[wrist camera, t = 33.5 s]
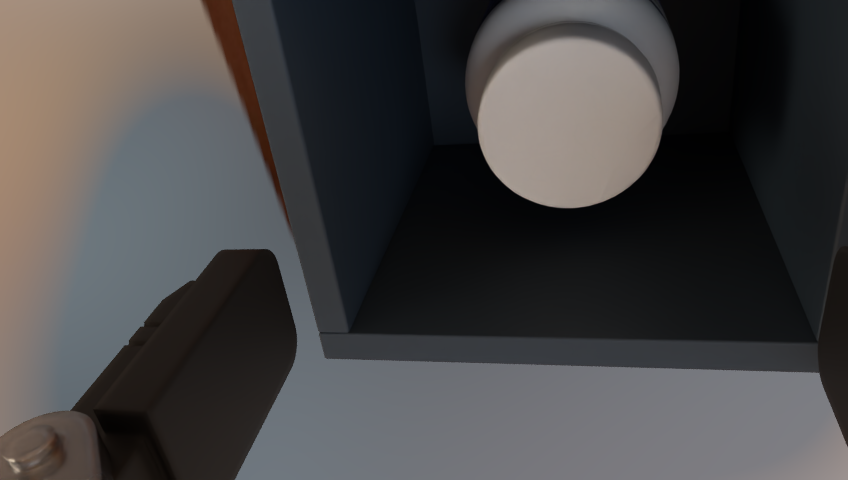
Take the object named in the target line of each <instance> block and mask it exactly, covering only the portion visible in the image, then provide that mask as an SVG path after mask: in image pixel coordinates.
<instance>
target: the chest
mask: <svg viewBox="0 0 848 480" xmlns="http://www.w3.org/2000/svg"><path fill="white" fill-rule="evenodd" d="M490 1H491V0H232V3H233V7H234V11H235V14H236V18H237V22H238V26H239V30H240V33H241V37H242V41H243V45H244V49H245V53H246V56H247V60H248V64H249V68H250V72H251V75H252V79H253V83H254V87H255V91H256V95H257V98H258V102H259V106H260V110H261V114H262V117H263V121H264V125H265V129H266V133H267V137H268V140H269V144H270V148H271V152H272V156H273V159H274V163H275V167H276V171H277V175H278V179H279V182H280V186H281V190H282V194H283V198H284V201H285V205H286V209H287V213H288V217H289V221H290V224H291V228H292V232H293V236H294V240H295V243H296V247H297V251H298V255H299V258H300V263H301V266H302V270H303V274H304V278H305V282H306V285H307V289H308V293H309V297H310V301H311V304H312V308H313V312H314V316H315V320H316V323H317V327H318V331H319V332H320V333H319V336H320V340H321V344H322V347H323V351H324V355H325V358H327V359H328V358H329V359H362V360H397V361H398V360H399V361H433V362H466V363H467V362H468V363H502V364H503V363H504V364H537V365H571V366H609V367H641V368H676V369H713V370H746V371H747V370H748V371H781V372H816V373H819V366H818V340H819V334H820V329H821V324H822V319H823V314H824V309H825V303H826V298H827V293H828V288H829V283H830V278H831V273H832V268H833V263H834V259H835V256H836V253H837V251H838V250H839V249H840V248H841V247H842V246H848V0H659V1H660V3H661V6H662V8H663V11H664V13H665V16H666V18H667V20H668V23H669V26H670V28H671V31H672V33H673V36H674V40H675V44H676V48H677V53H678V59H679V69H680V70H679V86H678V92H677V97H676V100H675V104H674V107H673V109H672V112H671V114H670V116H669V118H668V120H667V122H666V124H665V126H664V128H663V129H662V136H661V140H660V144H659V146H658V149H657V152H656V154H655V156H654V158H653V160H652V162H651V163H650V165H649V166H648V168H647V169H646V171H645V172H644V173H643V174H642V175H641V177H640V178H639V179H638V180H637V181H635V182H634V183H633V184H632V185H631V186H630V187H629V188H627V189H626V190H624V191H623V192H621V193H620V194H618V195H616V196H615V197H613V198H610V199H608V200H606V201H604V202H601V203H598V204H594V205H591V206H586V207H579V208H556V207H550V206H545V205H541V204H538V203H535V202H533V201H530V200H528V199H526V198H523V197H521V196H520V195H518V194H516V193H515V192H513V191H512V190H511V189H509V188H508V187H507V186H506V185H505V184H504V183H503V182H502V181H501V180H500V179H499V178H498V177H497V176H496V175H495V174H494V172H493V171H492V170H491V168H490V166H489V165H488V163H487V161H486V159H485V157H484V155H483V152H482V150H481V146H480V143H479V138H478V130H477V128H476V126H475V124H474V122H473V119H472V117H471V114H470V111H469V108H468V104H467V98H466V90H465V72H466V66H467V60H468V56H469V52H470V49H471V45H472V42H473V40H474V37H475V35H476V33H477V30H478V28H479V26H480V23H481V21H482V19H483V16H484V14H485V12H486V10H487V8H488V5H489V3H490Z"/></svg>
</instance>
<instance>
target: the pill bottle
mask: <svg viewBox="0 0 848 480" xmlns="http://www.w3.org/2000/svg"><path fill="white" fill-rule="evenodd" d="M679 70H680V69H679V59H678V53H677V48H676V44H675V40H674V36H673V33H672V31H671V28H670V26H669V23H668V20H667V18H666V16H665V13H664V11H663V8H662V6H661V3H660V1H659V0H491V1H490V3H489V5H488V8H487V10H486V12H485V14H484V16H483V19H482V21H481V23H480V26H479V28H478V30H477V33H476V35H475V37H474V40H473V42H472V45H471V49H470V52H469V56H468V60H467V66H466V72H465V90H466V98H467V104H468V108H469V111H470V114H471V117H472V119H473V122H474V124H475V126H476V128H477V130H478V138H479V143H480V146H481V150H482V152H483V155H484V157H485V159H486V161H487V163H488V165H489V166H490V168H491V170H492V171H493V172H494V174H495V175H496V176H497V177H498V178H499V179H500V180H501V181H502V182H503V183H504V184H505V185H506V186H507V187H508V188H509V189H511V190H512V191H513V192H515V193H516V194H518V195H520V196H521V197H523V198H526V199H528V200H530V201H533V202H535V203H538V204H541V205H545V206H550V207H556V208H579V207H586V206H591V205H594V204H598V203H601V202H604V201H606V200H608V199H610V198H613V197H615V196H616V195H618V194H620V193H621V192H623V191H624V190H626V189H627V188H629V187H630V186H631V185H632V184H633V183H634V182H635V181H637V180H638V179H639V178H640V177H641V175H642V174H643V173H644V172H645V171H646V169H647V168H648V166H649V165H650V163H651V162H652V160H653V158H654V156H655V154H656V152H657V149H658V146H659V144H660V140H661V136H662V129H663V128H664V126H665V124H666V122H667V120H668V118H669V116H670V114H671V112H672V109H673V107H674V104H675V100H676V97H677V92H678V86H679Z"/></svg>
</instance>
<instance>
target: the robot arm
mask: <svg viewBox="0 0 848 480" xmlns="http://www.w3.org/2000/svg"><path fill="white" fill-rule="evenodd" d="M144 323H145V324H144V327H140V328H139V329H138V330H137V331H136V333H135V334H134V335H133V336H132V337H131V339H130V340H129V345H125V346H124V347H123V348H122V349H121V351H120V352H119V353H118V354H117V355H116V357H115V358H114V359H113V360H112V361H111V363H110V364H109V365H108V366H107V367H106V369H105V370H104V371H103V372H102V373H101V375H100V376H99V377H98V378H97V379H96V381H95V382H94V383H93V384H92V385H91V387H90V388H89V389H88V390H87V391H86V392H85V394H84V395H83V396H82V397H81V398H80V400H79V401H78V402H77V403H76V404H75V406H74V407H73V408H72V409H71V410H70V411H58V412H53V413H48V414H44V415H41V416H38V417H35V418H33V419H30V420H28V421H25V422H23V423H22V424H20V425H18V426H16V427H14V428H13V429H11V430H9V431H8V432H7V433H5V434H4V435H2V436H1V437H0V480H235V478H236V476H237V474H238V472H239V470H240V468H241V466H242V464H243V462H244V460H245V458H246V456H247V454H248V452H249V451H250V449H251V447H252V445H253V443H254V441H255V439H256V437H257V435H258V433H259V431H260V429H261V427H262V425H263V423H264V421H265V419H266V417H267V415H268V413H269V411H270V409H271V407H272V405H273V403H274V402H275V400H276V398H277V396H278V394H279V392H280V390H281V388H282V386H283V384H284V382H285V380H286V378H287V376H288V374H289V372H290V370H291V368H292V366H293V363H294V360H295V355H296V348H297V334H296V328H295V324H294V320H293V316H292V313H291V309H290V305H289V302H288V298H287V294H286V291H285V287H284V284H283V280H282V276H281V273H280V269H279V265H278V262H277V260H276V257H275V255H274V254H273V253H272V252H271V251H270V250H267V249H250V250H249V249H247V250H244V249H242V250H221V251H220V252H218V253H217V254H216V256H215V257H214V258H213V259H212V261H211V262H210V263H209V265H208V266H207V267H206V268H205V269H204V271H203V272H202V273H201V274H200V276H199V277H198V278H197V279H196V281H189V282H188V283H187V284H185V285H184V286H182V287H181V288H179V289H178V290H177V291H175V292H174V293H172V294H171V295H169V296H168V297H166V298H165V299H164V300H162V301H161V303H160V304H159V305H158V306H157V307H156V309H155V310H154V311H153V312H152V314H151V315H150V316H149V317H148V318H147V320H146V321H145V322H144ZM818 366H819V373H820V377H821V381H822V384H823V387H824V390H825V392H826V395H827V397H828V399H829V402H830V404H831V407H832V409H833V412H834V414H835V417H836V419H837V421H838V424H839V427H840V429H841V431H842V434H843V436H844V439H845V441H846V444H847V446H848V246H842V247H841V248H840V249H839V250H838V251H837V253H836V256H835V259H834V263H833V268H832V273H831V278H830V283H829V288H828V293H827V298H826V303H825V309H824V314H823V319H822V324H821V329H820V334H819V340H818Z"/></svg>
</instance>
